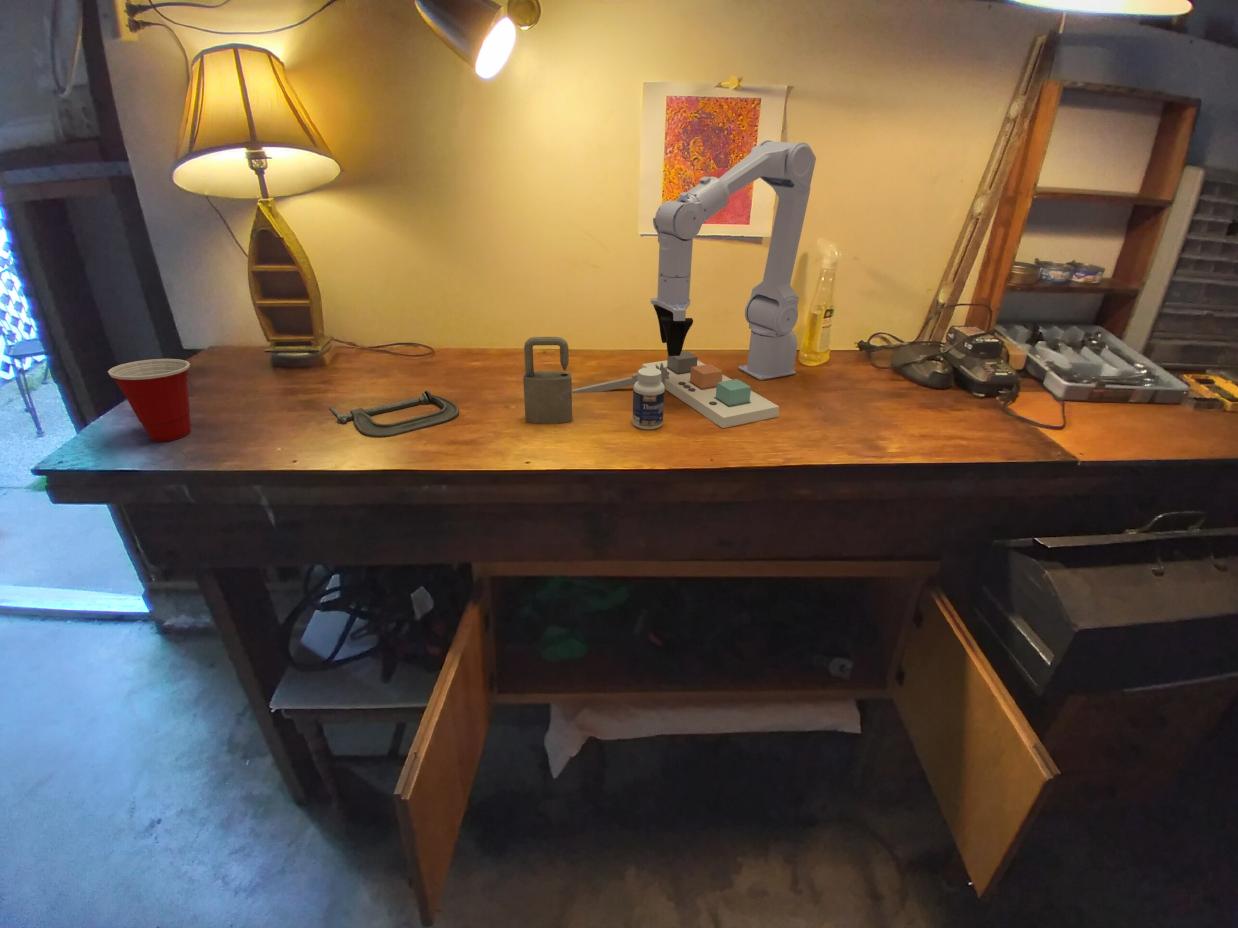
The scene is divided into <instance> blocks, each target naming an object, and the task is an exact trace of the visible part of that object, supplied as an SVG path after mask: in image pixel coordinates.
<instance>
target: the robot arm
mask: <svg viewBox="0 0 1238 928" xmlns="http://www.w3.org/2000/svg"><path fill="white" fill-rule="evenodd" d="M816 162H817V158H816V155H815V153H814V151H813V149H812V147H811V146H810V144H808V142H807V143H806V142H805V141H802V142H788V141H787V142H786V141H773V140H762V141H761V142H760V143H759V144H758V145H755V146H753V147H752V148H751V150H750V153H749V154H748V155H746V156H745V157H744V158H743V159H741V160H740V161H739V162H737V163H736V164H735V165H733V167H731V168H730V169H728V170H727V171H726V172H725V173H724V174H722V175H721V176H720V177H716V176H703V177H701V178H700V179H699V180H698V181H699V183H697V184H696V185H695V186H694V187H693V188H691V189H689V190H688V191H685V192H684V191H682V192H681V193H680V194H678V198H677V199H675V200H667V201H664V202H663V203H661V205H660V206H659V207H658V208H657V211H656V212H655V217H652V225H653V228H654V230H655V232H656V233H657V242H658V244H659V247H658V250H659V251H658V269H657V270H658V271H657V296H656V297H652V298H650V304H651V305H652V306H653V308H654V310H655V313H656V315H657V320H658V325H659V334H660V335H659V336H660V339H661V342H662V344H665V345H666V351H667V356H668V355H669V356H680V354H681V351H683V347H684V344H685V343H684V342H685V340H686V338H687V337H686V336H687V334H688V333H689V330H690V329H691V327H693V326H692V325H693V324H694V319H693V318H692V317H686V315H687V310H688V308H689V306H690V305H691V298H690V290H691V278H692V277H691V275H692V259H693V244H694V238H696V236H697V235H698V234H699V232H700V231H701V228H702V226H703V224H704V223H706V221H707V220H709V219H710V218H712V217H713V216H714V215H716V214H717V213H719V212H720V211H722V210H723V209H725V208H726V207H727V206H728V203H729V200H730V196H731V195H734V194H736V193H737V192H738V191H740V190H742V189H743V188H745V187H746V186H748V185H750V184H751V183H754V182H755V181H756V180H758V179H761V180H762V181H763V182H764V183H766V184H767V185H768V186H770V187H771V188H772V189H773V191H774V192H775V193H776V195H777V197H778V202H777V207H776V211H775V217H774V222H773V223H774V224H773V226H772V232H771V237H770V241H769V242H770V243H769V247H768V253H767V256H766V257H767V259H766V263H765V267H764V273H763V278H762V281H761V282H760V283H759V284H756V286H754V287H752V289H751V293H750V297H749V300H748V301H747V302H746V305H745V308H744V318H745V321H747V323H748V329H750V337H749V345H748V346H749V347H748V355H747V364H744V365H743V364H742V365H738V367H737V368H738V369H739V370H740V371H741V372H744V373H746V374H748V375H750V376H751V377H753V378H755V379H757V380H759V381H764V380H770V379H774V378H781V377H786V376H792V375H795V374H796V370H795V362H796V357H797V349H798V338H797V335H796V334H795V332H794V331H793V330H794V328H795V326H796V325H797V322H798V318H799V309H798V304H799V300H800V299H799V296H798V294H797V293H796V291H795V290H794V288H793V287H792V285H791V283H792V277H793V272H794V269H795V268H794V267H795V265H796V264H795V262H796V259H797V253H798V249H799V245H800V241H801V235H802V230H803V227H804V220H805V216H806V211H807V207H808V203H809V198H810V193H811V183H812V179H813V175H814V171H815V165H816Z"/></svg>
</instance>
